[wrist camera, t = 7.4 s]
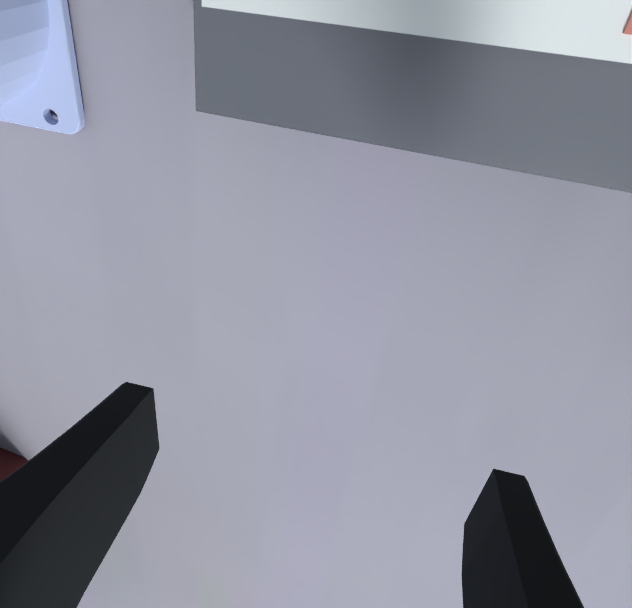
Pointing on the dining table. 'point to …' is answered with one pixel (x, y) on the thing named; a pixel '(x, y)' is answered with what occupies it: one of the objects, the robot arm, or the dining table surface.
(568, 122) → the switch panel
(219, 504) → the dining table surface
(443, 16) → the rocker
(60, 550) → the robot arm
